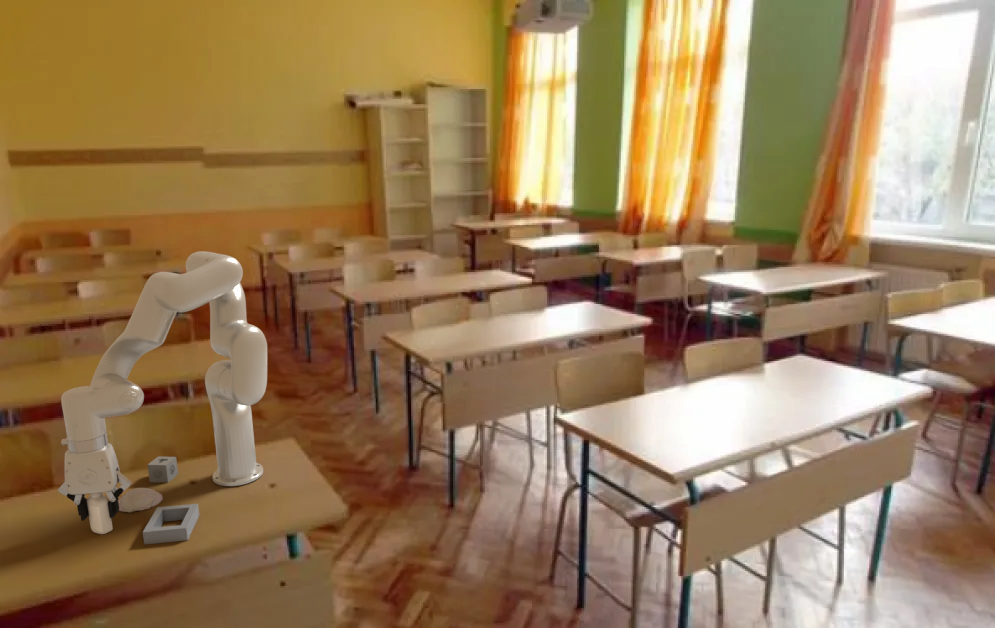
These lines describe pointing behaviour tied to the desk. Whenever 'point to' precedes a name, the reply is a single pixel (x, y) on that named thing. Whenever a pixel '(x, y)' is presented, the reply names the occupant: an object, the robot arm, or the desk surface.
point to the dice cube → (162, 469)
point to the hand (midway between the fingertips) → (99, 515)
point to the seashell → (139, 500)
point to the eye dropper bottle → (99, 513)
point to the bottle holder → (171, 533)
